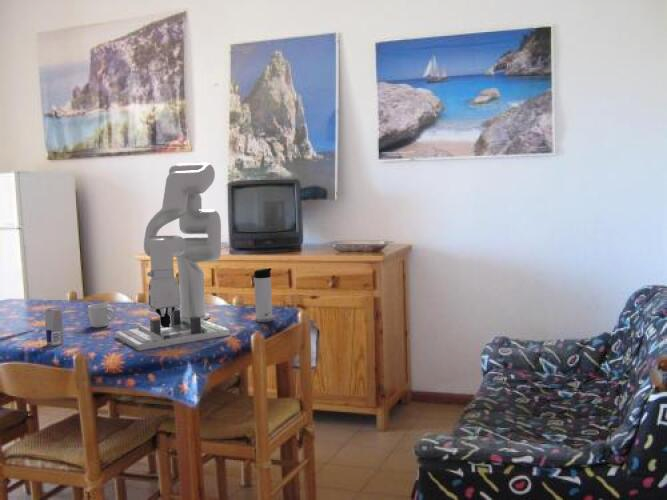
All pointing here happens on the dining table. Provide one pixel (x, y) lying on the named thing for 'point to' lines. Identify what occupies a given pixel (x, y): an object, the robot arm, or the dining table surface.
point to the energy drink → (54, 326)
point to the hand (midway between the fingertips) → (165, 326)
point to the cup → (100, 315)
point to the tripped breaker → (155, 324)
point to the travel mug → (263, 295)
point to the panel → (171, 333)
